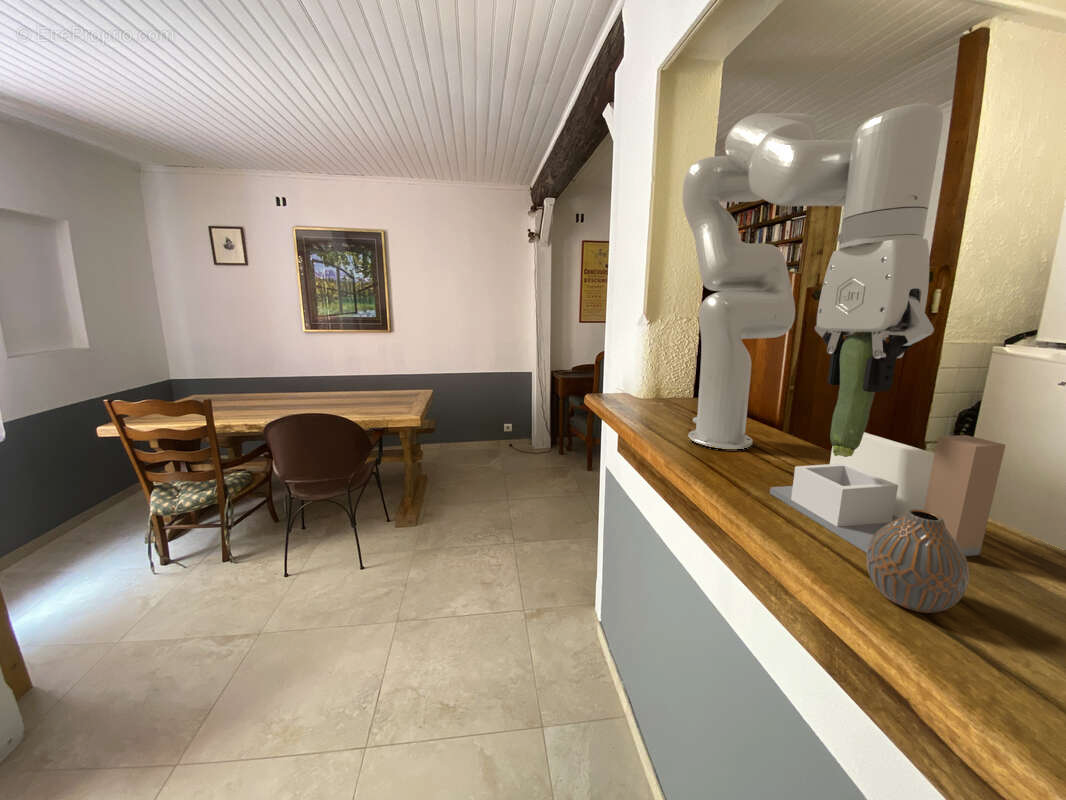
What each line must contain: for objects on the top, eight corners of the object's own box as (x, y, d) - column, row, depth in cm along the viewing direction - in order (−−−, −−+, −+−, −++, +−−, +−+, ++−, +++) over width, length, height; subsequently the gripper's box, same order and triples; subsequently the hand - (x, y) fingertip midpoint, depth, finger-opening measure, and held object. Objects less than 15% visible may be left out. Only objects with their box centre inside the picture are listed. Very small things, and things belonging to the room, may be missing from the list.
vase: (925, 632, 34) (945, 540, 32) (844, 582, 41) (857, 503, 39) (979, 616, 36) (1001, 527, 34) (893, 570, 42) (908, 494, 41)
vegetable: (830, 448, 55) (850, 299, 51) (870, 456, 52) (896, 297, 48) (823, 456, 52) (844, 298, 48) (866, 465, 49) (892, 297, 45)
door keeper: (769, 493, 61) (779, 411, 58) (840, 488, 62) (852, 407, 60) (884, 564, 43) (905, 450, 41) (979, 554, 45) (1005, 444, 42)
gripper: (795, 246, 54) (781, 379, 58) (931, 214, 38) (898, 402, 41) (845, 246, 55) (828, 377, 59) (999, 215, 38) (961, 399, 42)
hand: (857, 386), depth 50 cm, fingers closed on vegetable, 4 cm apart
